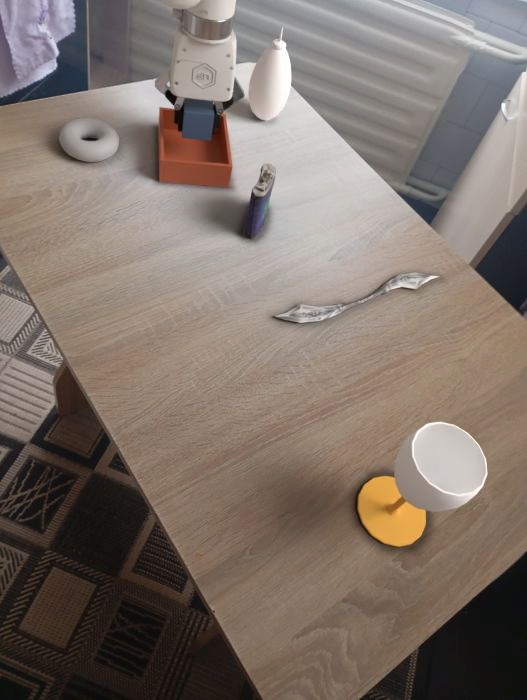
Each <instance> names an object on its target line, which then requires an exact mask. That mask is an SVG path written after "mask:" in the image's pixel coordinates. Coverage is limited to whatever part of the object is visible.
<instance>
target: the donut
mask: <svg viewBox="0 0 527 700" xmlns="http://www.w3.org/2000/svg"><path fill="white" fill-rule="evenodd" d="M85 139H94V140H85ZM58 140H59V141H58V142H59V144H60V146H61V149H62V150H63V151H64V152H65V153H66V154H67V155H68V156H70V157H71V158H74V159H76V160H77V161H78V160H79V161H82V162H87V163H96V162H103V161H105V160H108V159H110V158H111V157H113V156H114V155H115V154H116V153H117V152H118V151H117V150H118V149H119V147H120V137H119V135H118V133H117V132H116V130H115V128H114V127H113V126H112V125H111V124H110V123H108V122H105V121H103V120H101V119H98V118H94V117H77V118H74V119H71V120H70V121H68V122H67V123H65V124H64V125H63V126H62V127H61V129H60V131H59V139H58Z"/></svg>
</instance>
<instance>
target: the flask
mask: <svg viewBox="0 0 527 700" xmlns="http://www.w3.org/2000/svg"><path fill="white" fill-rule="evenodd" d="M276 172H277V169H276V166H275V165H273V164H272V163H263V164H262V166H261V168H260V174H259V178H258V180H257V182H256V184H254V186H253V187H252V188H251V192H250V198H249V203H248V207H247V212H246V218H245V223H244V226H243V232H242V234H243V237H244V238H246V239H249V240H254V239H256V238H257V237H258V236H259V234H260V233H261V232H262V230H263V228H264V225H265V219H266V217H267V212H268V208H269V205H270V200H271V195H272V192H273V189H274V184H275V181H276V175H277V173H276Z"/></svg>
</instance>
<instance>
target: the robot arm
mask: <svg viewBox="0 0 527 700" xmlns="http://www.w3.org/2000/svg"><path fill="white" fill-rule="evenodd" d="M161 2H162V3H164V4H165V5H166V6H168V7H170V8H172V18H173V19H177V20H179V22H178V23H177V25H176V28H175V33H174V37H173V42H172V47H171V55H170V64H169V66H167V68H166V69H165V70H164V71H163V72H162V73H161V74H160V75H158V77H157V78H156V79H155V80H154V87H155V89H156V90H157V91H159V92H160V93H161V94H162V95H163V96H164V97H165V99H167V101H168V102H169V103H170V104H171V105H172V106H173V109H175V110H174V124H178V131H179V132H181V131H182V125H183V113H184V110H183V102H184V100H185V98H189V99H198V100H206V101H213V109H214V121H213V128H212V135H215V129H216V128H219V125H220V118H221V115H222V114H225V113H224V112H225V111H227V110H228V109H229V108H230V107H232V106H233V105H234V103H237V102H239V101H240V100H242V99H244V98H245V90H244V89H243V87H242V86H241V83H240V82H239V80H238V79H237V77H236V69H237V68H236V67H237V50H238V49H237V47H238V46H237V36H236V32H235V31H234V30H233V26H234V19H235V13H236V12H235V11H236V5H237V0H161ZM168 83H169V85H168Z"/></svg>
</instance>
